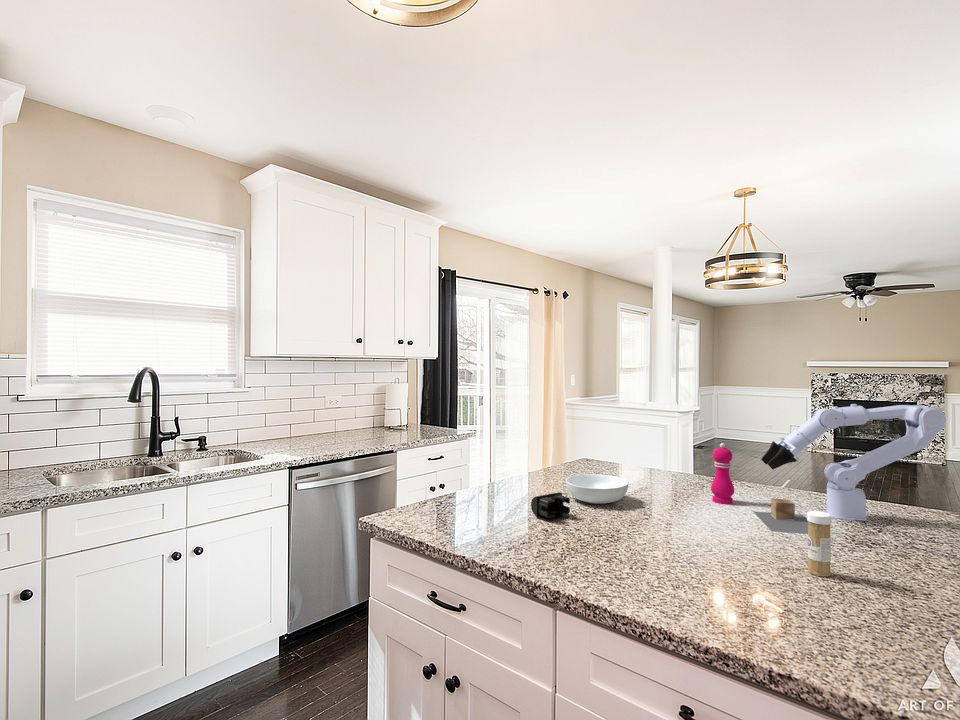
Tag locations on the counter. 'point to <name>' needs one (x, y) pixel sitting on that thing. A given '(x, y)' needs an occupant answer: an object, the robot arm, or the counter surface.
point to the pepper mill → (722, 476)
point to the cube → (783, 509)
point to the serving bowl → (597, 488)
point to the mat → (784, 523)
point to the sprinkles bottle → (819, 543)
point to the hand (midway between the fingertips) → (766, 464)
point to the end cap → (550, 507)
